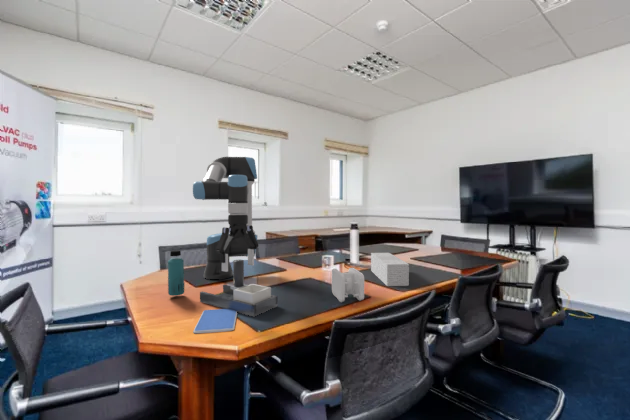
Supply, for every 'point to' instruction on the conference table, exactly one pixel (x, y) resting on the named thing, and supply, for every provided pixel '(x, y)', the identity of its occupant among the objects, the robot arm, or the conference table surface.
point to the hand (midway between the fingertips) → (238, 268)
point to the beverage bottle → (175, 274)
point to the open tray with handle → (247, 286)
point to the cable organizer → (347, 284)
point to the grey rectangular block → (390, 269)
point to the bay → (237, 302)
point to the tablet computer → (216, 321)
